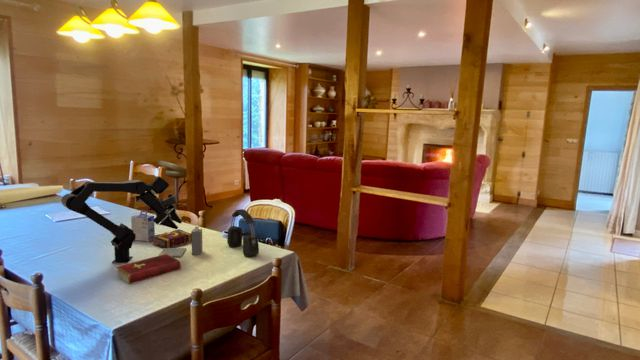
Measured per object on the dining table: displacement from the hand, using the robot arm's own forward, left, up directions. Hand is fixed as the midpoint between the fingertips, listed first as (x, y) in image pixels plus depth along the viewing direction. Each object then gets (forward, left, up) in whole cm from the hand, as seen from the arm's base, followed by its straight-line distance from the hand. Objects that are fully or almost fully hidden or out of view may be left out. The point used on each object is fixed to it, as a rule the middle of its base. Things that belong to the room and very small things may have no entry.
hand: (179, 225), depth 177 cm
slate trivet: (0, +3, -13) cm, 14 cm away
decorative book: (+15, +7, -14) cm, 21 cm away
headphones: (+3, -28, -14) cm, 31 cm away
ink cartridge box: (+21, +22, -13) cm, 33 cm away
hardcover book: (-21, +8, -14) cm, 26 cm away
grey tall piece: (0, -8, -13) cm, 15 cm away
